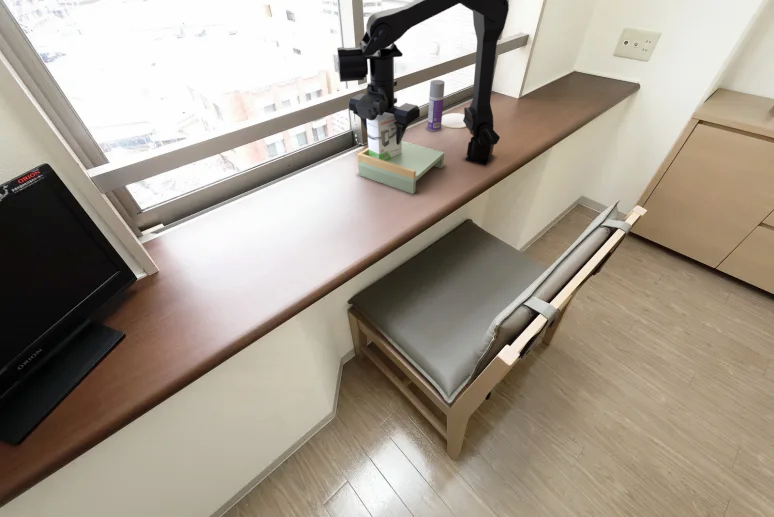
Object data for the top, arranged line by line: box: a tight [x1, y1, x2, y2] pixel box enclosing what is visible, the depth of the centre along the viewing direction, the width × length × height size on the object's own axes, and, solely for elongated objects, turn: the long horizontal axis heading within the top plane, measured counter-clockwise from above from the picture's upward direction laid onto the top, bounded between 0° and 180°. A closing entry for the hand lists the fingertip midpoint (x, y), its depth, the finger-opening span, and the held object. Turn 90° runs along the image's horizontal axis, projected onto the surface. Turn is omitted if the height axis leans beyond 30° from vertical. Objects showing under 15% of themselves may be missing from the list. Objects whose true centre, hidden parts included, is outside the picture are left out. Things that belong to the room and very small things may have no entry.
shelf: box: [357, 140, 446, 195], centre depth 96 cm, size 18×17×6 cm
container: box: [427, 79, 445, 132], centre depth 113 cm, size 5×5×15 cm
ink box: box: [366, 112, 403, 161], centre depth 91 cm, size 9×5×12 cm, turn 132°
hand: (384, 140), depth 92 cm, fingers open, 9 cm apart
